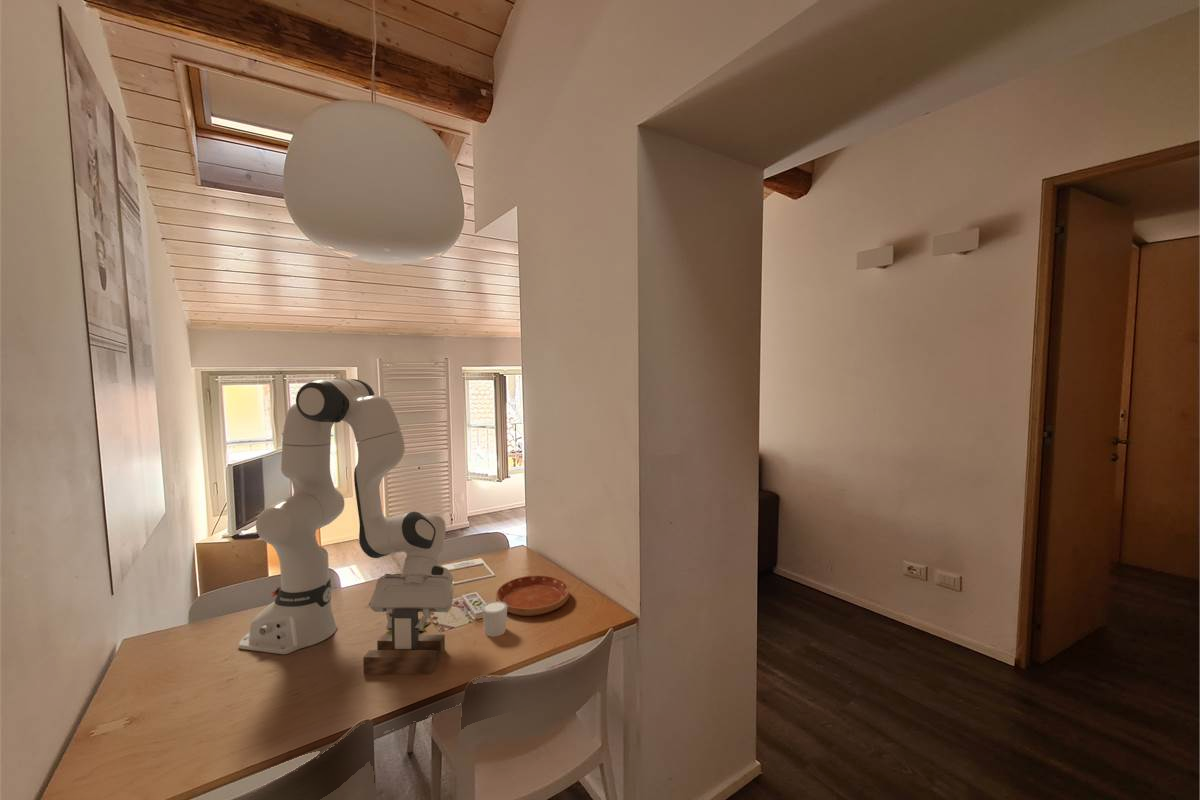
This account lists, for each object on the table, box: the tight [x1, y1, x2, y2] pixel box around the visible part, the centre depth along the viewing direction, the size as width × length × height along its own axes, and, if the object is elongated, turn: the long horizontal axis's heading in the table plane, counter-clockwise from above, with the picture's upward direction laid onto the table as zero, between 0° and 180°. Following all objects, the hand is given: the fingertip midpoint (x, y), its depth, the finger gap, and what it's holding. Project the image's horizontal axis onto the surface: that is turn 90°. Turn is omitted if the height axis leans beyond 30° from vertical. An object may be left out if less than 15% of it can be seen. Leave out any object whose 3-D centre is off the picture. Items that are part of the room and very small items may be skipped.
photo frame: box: [441, 557, 496, 586], centre depth 172 cm, size 15×1×18 cm
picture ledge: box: [362, 633, 446, 675], centre depth 117 cm, size 16×10×4 cm, turn 90°
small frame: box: [392, 609, 419, 650], centre depth 117 cm, size 6×3×10 cm, turn 90°
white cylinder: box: [481, 600, 508, 638], centre depth 131 cm, size 7×7×7 cm
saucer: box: [495, 575, 570, 617], centre depth 149 cm, size 23×23×4 cm
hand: (404, 629), depth 116 cm, fingers closed on small frame, 5 cm apart
